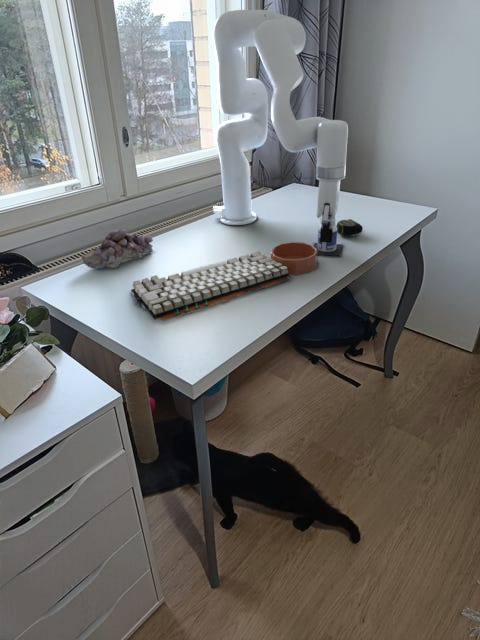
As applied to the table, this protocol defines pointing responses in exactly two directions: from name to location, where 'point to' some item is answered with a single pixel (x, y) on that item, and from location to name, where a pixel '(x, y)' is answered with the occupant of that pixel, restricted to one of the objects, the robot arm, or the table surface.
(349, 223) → the tape measure
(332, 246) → the pill bottle
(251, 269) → the mechanical keyboard
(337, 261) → the table surface
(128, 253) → the mineral specimen
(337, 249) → the coaster
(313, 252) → the bowl
